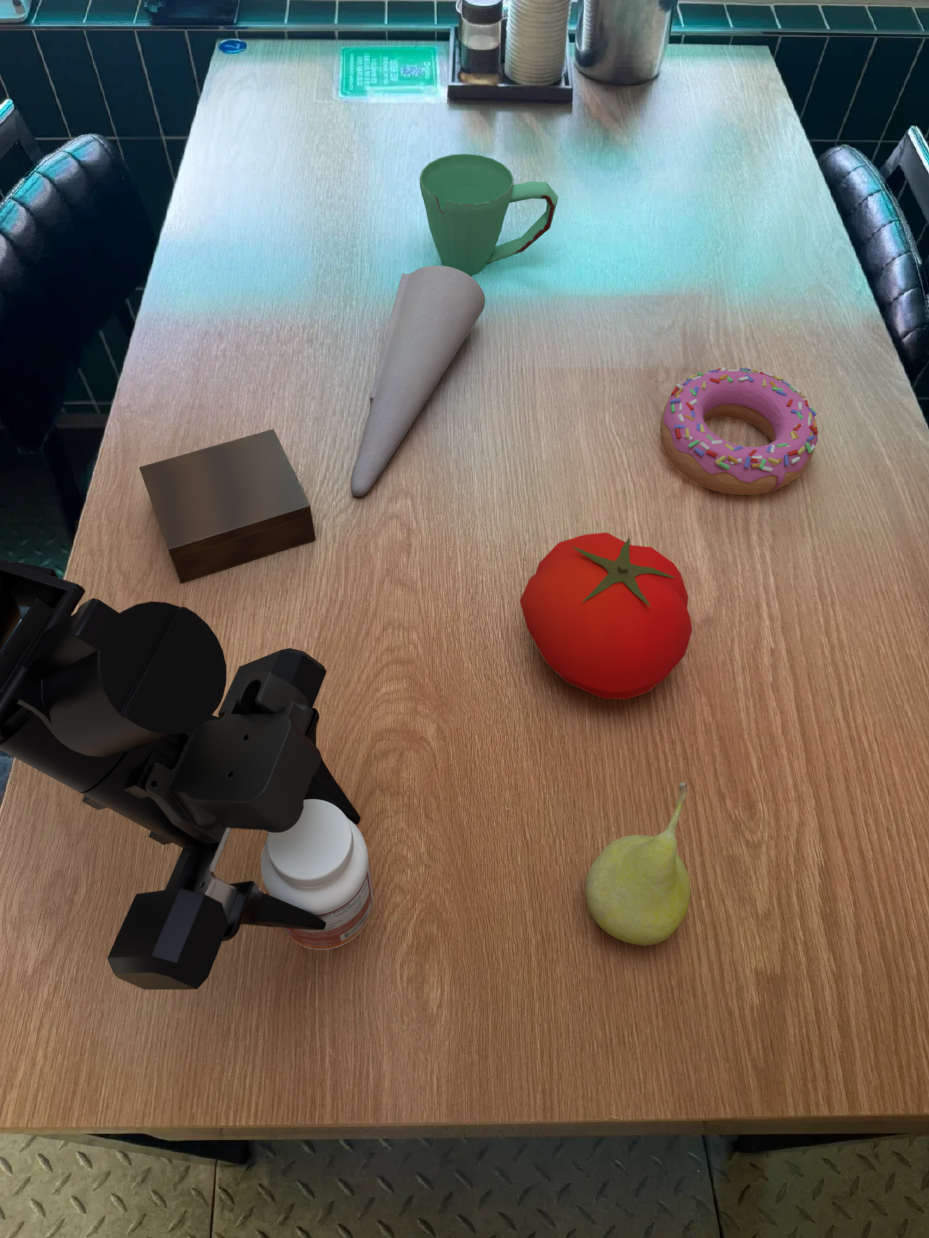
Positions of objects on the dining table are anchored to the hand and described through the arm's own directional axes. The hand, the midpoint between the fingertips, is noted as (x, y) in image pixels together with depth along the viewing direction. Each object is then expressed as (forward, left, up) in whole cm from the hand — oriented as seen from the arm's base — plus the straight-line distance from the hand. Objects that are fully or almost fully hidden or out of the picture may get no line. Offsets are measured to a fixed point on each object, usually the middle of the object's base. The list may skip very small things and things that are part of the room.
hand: (338, 873), depth 55 cm
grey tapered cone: (+24, +45, -10) cm, 52 cm away
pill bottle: (-1, +1, -7) cm, 7 cm away
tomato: (+26, +13, -10) cm, 31 cm away
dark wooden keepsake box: (+3, +38, -10) cm, 39 cm away
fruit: (+18, -6, -10) cm, 22 cm away
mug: (+40, +64, -10) cm, 76 cm away
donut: (+49, +28, -10) cm, 57 cm away
